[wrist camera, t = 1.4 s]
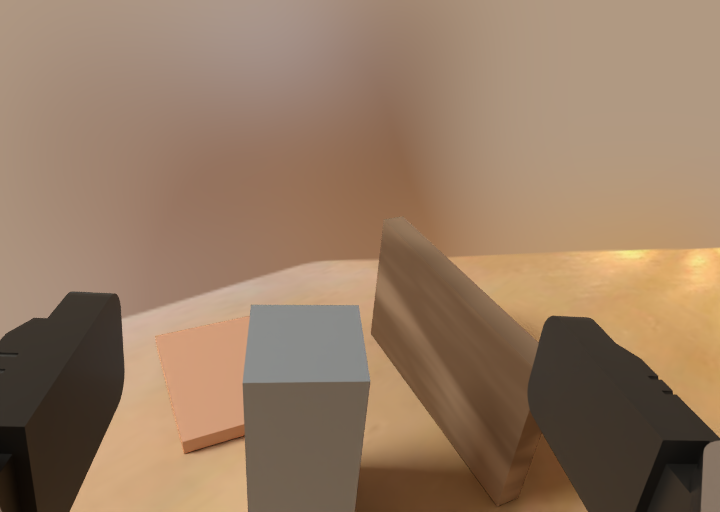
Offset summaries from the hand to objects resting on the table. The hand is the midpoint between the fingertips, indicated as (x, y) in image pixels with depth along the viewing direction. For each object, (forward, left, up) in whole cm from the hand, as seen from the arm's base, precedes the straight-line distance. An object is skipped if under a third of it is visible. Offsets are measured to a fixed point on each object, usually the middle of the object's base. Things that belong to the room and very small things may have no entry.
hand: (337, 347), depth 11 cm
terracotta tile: (-3, -21, -21) cm, 30 cm away
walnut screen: (-14, -14, -21) cm, 29 cm away
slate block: (-3, -10, -21) cm, 23 cm away
